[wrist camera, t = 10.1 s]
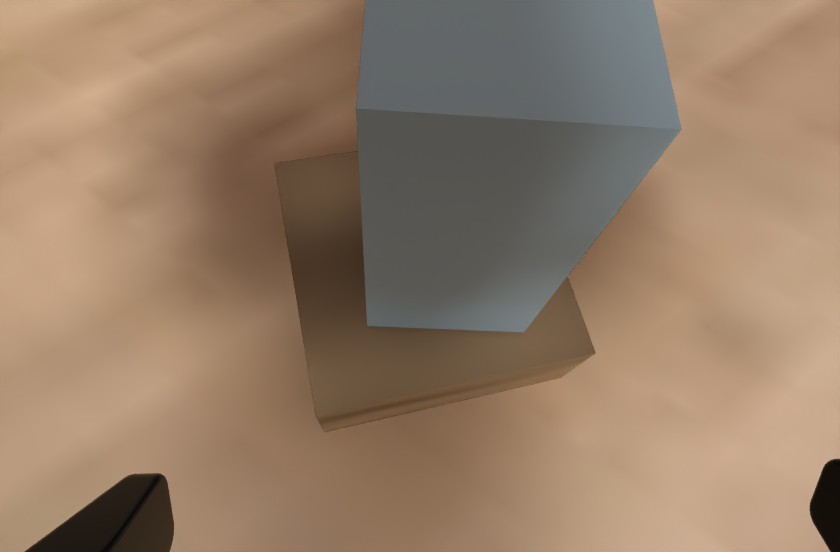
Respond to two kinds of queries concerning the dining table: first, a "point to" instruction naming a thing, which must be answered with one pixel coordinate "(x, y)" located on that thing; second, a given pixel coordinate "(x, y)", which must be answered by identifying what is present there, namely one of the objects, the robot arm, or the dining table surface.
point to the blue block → (499, 149)
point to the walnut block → (396, 346)
